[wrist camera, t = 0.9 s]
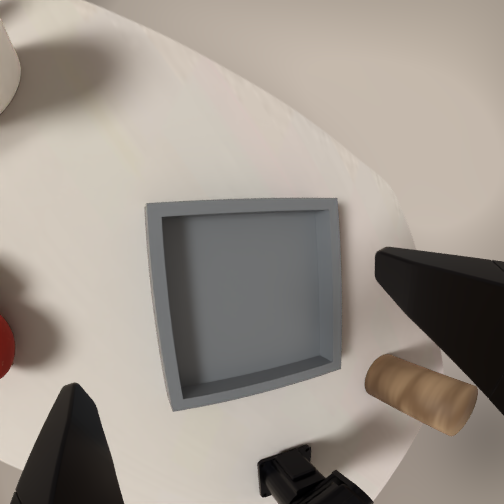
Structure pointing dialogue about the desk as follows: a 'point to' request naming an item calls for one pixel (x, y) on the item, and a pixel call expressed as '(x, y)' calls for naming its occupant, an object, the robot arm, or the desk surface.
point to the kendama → (6, 347)
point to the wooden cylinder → (422, 393)
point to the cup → (8, 69)
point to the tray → (244, 295)
